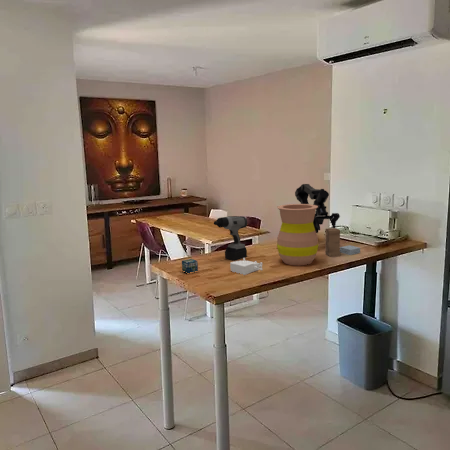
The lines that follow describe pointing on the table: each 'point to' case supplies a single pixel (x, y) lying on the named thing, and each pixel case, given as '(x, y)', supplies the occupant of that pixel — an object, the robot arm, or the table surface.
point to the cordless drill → (233, 224)
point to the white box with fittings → (245, 266)
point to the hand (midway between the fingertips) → (327, 229)
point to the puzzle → (190, 265)
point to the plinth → (350, 250)
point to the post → (332, 242)
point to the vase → (297, 234)
